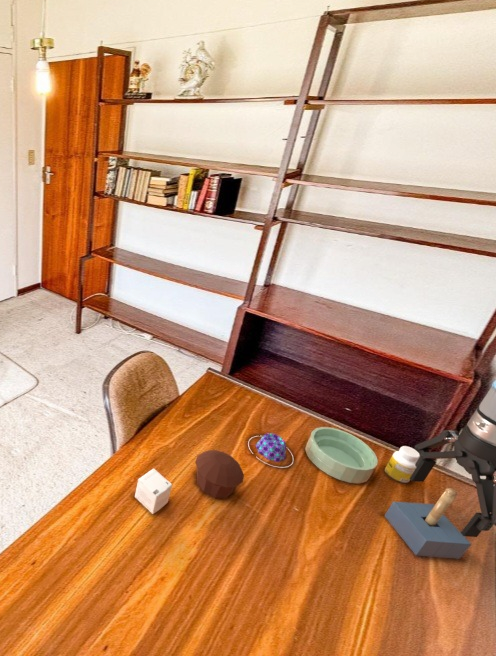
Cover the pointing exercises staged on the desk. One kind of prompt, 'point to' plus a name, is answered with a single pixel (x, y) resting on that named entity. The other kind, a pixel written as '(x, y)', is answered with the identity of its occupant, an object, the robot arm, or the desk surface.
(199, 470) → the muffin
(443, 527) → the block
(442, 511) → the stick
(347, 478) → the bowl
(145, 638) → the desk surface
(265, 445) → the checkered ringed planet
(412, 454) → the supplement bottle
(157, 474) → the product carton
